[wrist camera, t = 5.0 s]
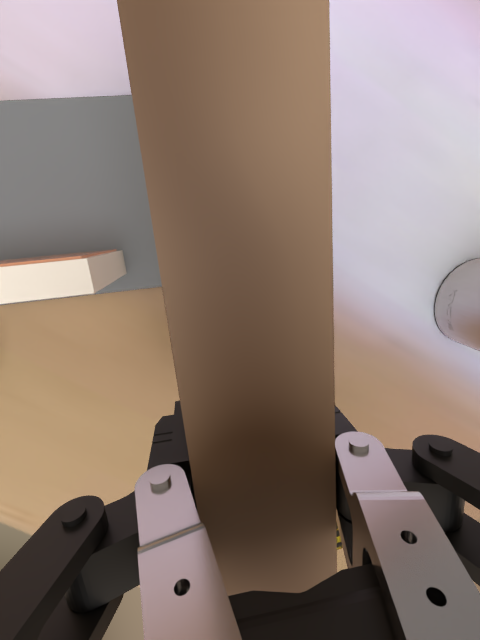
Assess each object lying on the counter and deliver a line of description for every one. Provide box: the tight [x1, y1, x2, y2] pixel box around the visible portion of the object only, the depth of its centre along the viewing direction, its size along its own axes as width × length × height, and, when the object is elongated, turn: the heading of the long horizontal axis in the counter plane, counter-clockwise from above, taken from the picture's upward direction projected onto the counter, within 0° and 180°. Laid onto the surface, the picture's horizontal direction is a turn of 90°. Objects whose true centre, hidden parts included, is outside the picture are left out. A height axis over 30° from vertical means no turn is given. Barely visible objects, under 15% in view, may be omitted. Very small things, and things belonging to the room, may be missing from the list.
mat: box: [0, 95, 162, 305], centre depth 26 cm, size 14×15×1 cm
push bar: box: [117, 0, 337, 596], centre depth 9 cm, size 4×24×5 cm, turn 5°
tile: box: [0, 249, 127, 304], centre depth 23 cm, size 10×2×10 cm, turn 95°
